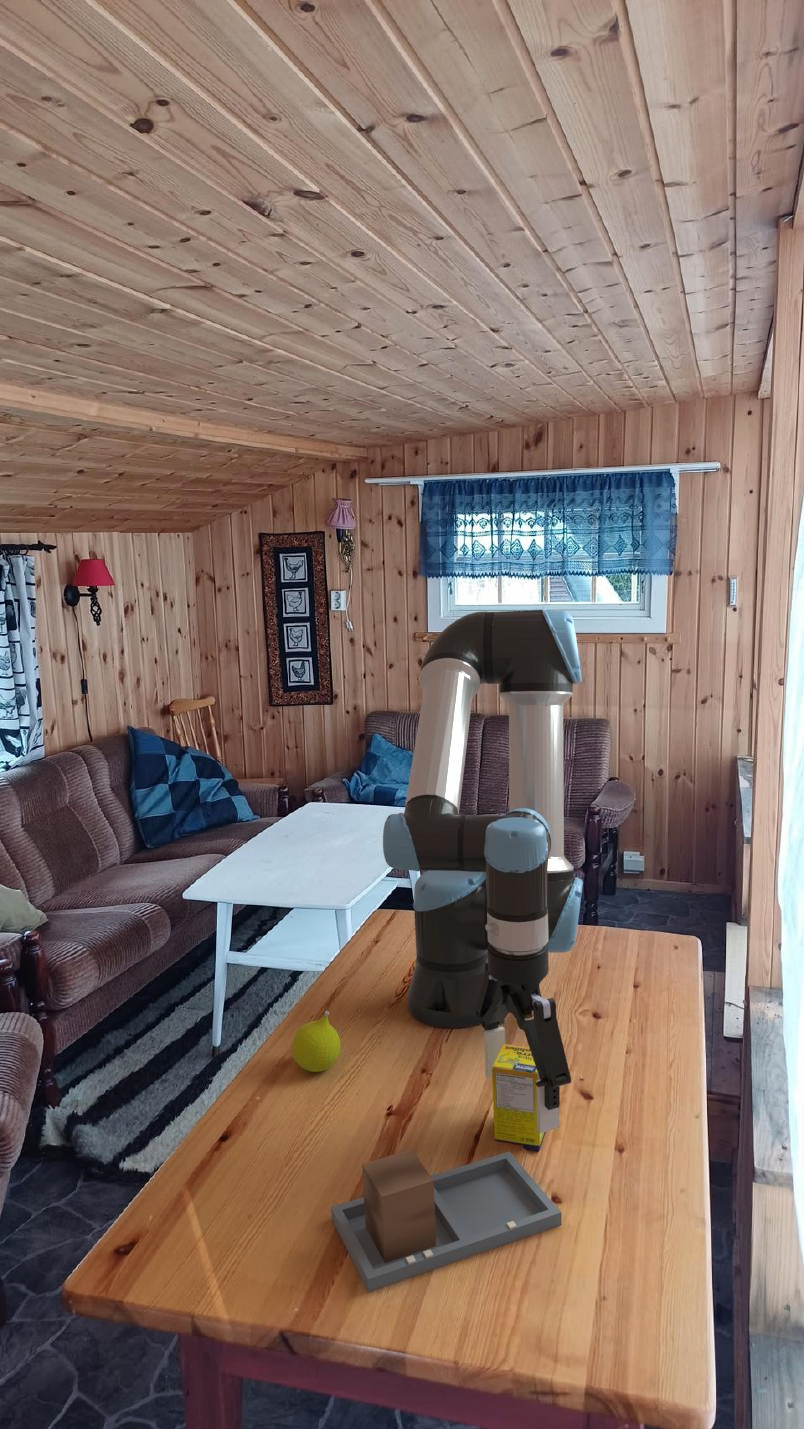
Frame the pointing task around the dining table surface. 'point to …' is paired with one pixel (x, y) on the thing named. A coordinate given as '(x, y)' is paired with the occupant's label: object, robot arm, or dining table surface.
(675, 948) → the dining table surface
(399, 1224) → the walnut block
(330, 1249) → the dining table surface
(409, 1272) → the slot tray
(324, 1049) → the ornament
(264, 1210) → the dining table surface
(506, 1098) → the supplement box
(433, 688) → the robot arm
